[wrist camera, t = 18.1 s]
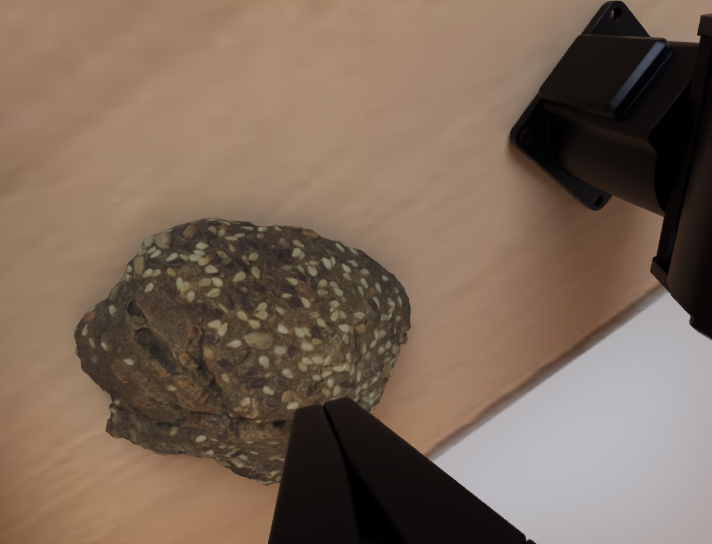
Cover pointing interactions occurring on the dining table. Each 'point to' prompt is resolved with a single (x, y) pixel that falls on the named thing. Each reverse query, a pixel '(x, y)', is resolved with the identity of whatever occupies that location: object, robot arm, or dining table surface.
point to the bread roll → (240, 339)
